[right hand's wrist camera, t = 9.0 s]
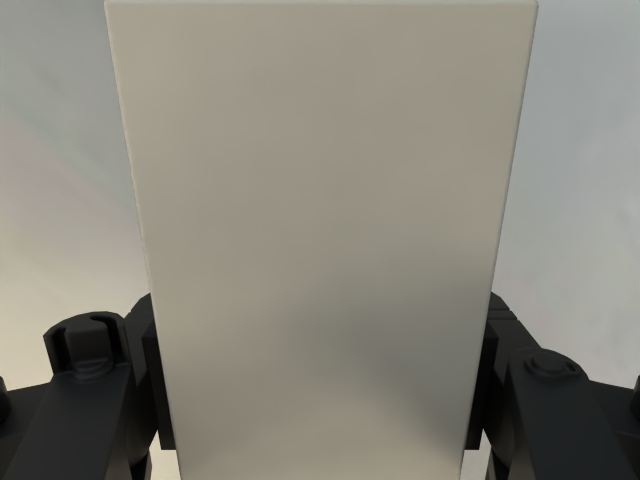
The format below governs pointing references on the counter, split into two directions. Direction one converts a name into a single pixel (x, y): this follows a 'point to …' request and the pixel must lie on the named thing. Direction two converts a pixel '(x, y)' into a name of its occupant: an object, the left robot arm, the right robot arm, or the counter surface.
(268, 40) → the beam
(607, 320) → the counter surface
